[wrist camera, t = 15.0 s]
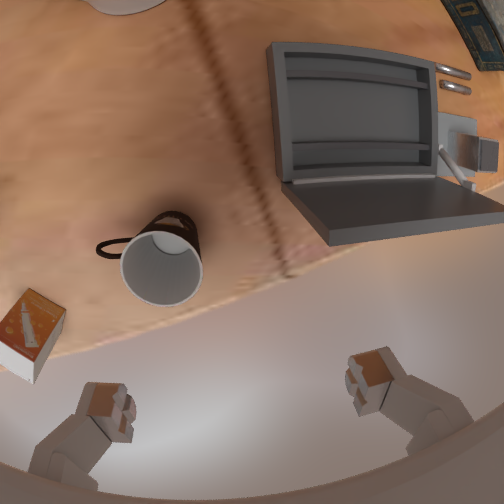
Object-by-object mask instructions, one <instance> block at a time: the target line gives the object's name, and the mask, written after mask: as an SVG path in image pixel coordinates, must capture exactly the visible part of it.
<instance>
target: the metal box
mask: <svg viewBox="0 0 504 504" xmlns="http://www.w3.org/2000/svg"><path fill="white" fill-rule="evenodd" d="M441 1H442V2H443V4H444V6H445V7H446V9H447V10H448V12H449V14H450V16H451V17H452V19H453V21H454V23H455V24H456V26H457V28H458V30H459V31H460V33H461V35H462V37H463V39H464V41H465V43H466V45H467V47H468V49H469V50H470V52H471V55H472V57H473V59H474V61H475V63H476V66H477V68H478V69H479V71H504V0H441Z"/></svg>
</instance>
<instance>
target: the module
mask: <svg viewBox="0 0 504 504" xmlns="http://www.w3.org/2000/svg"><path fill="white" fill-rule="evenodd" d="M498 150H499V142H498V140H495V139H491V138H486V137H482V136H477V135H473V134H468V133H461V132H453V131H448V155H449V156H450V157H451V158H452V160H453V161H454V162H455V164H456V165H458V166H461V167H464V168H467V169H470V170H473V171H475V172H483V173H496V172H497V168H498Z"/></svg>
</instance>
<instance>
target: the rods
mask: <svg viewBox="0 0 504 504" xmlns="http://www.w3.org/2000/svg"><path fill="white" fill-rule="evenodd" d="M434 65H435V71H438V72H441V73H445V74H449V75H452V76H456V77H459V78H462V79H465V80H471V74H470V73H468V72H465V71H462V70H459V69H456V68H453V67H450V66H447V65H443V64H440V63H436V62H434ZM440 87H441V88H443V89H447V90H451V91H455V92H459V93H463V94H466V95H471V92H472V91H471V88H470V87H467V86H463V85H460V84H457V83H453V82H449V81H445V80H441V81H440Z"/></svg>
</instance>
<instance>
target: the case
mask: <svg viewBox="0 0 504 504" xmlns="http://www.w3.org/2000/svg"><path fill="white" fill-rule="evenodd" d="M266 55H267V65H268V75H269V86H270V97H271V108H272V120H273V132H274V145H275V158H276V172H277V176H278V177H279V178H280V179H281V180H282V181H281V190H282V192H283V193H284V194H285V195H286V197H287V198H288V199H289V200H290V201H291V202H292V203H293V204H294V206H295V207H296V208H297V209H298V210H299V211H300V213H301V214H302V215H303V216H304V217H305V218H306V220H307V221H308V222H309V223H310V224H311V225H312V227H313V228H314V229H315V230H316V231H317V233H318V234H319V235H320V236H321V237H322V239H323V240H324V241H325V242H326V243H327V245H328V246H329V247H330V246H338V245H345V244H353V243H360V242H368V241H375V240H383V239H390V238H398V237H405V236H412V235H420V234H427V233H434V232H442V231H449V230H456V229H463V228H471V227H477V226H485V225H491V224H499V223H504V205H502V204H500V203H498V202H496V201H494V200H492V199H490V198H487V197H485V196H483V195H481V194H479V193H476V192H475V189H476V183H473V182H471V181H468V180H467V178H466V177H465V176H464V174H463V173H462V171H461V170H460V169H459V167H458V166H457V165H456V164H455V162H454V161H453V160H452V158H451V157H450V156H449V155H448V153H447V152H446V151H445V150H444V148H443V145H442V144H438V102H437V86H436V74H435V65H434V62H432V61H428V60H424V59H420V58H416V57H412V56H407V55H403V54H398V53H393V52H387V51H382V50H376V49H369V48H362V47H354V46H345V45H335V44H322V43H303V42H272V43H271V44H270V45H269V47H268V48H267V50H266ZM438 156H440V157H441V158H442V160H443V161H444V162H445V164H446V165H447V166H448V168H449V169H450V170H451V172H452V173H453V174H454V176H455V177H456V179H457V180H458V181H459V183H460V184H461V186H460V185H457V184H455V183H453V182H450V181H448V180H445V179H442V178H440V177H437V176H435V175H437V164H438Z"/></svg>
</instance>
